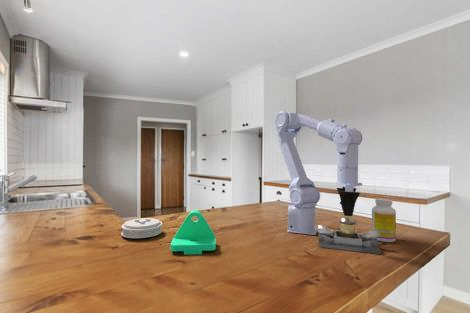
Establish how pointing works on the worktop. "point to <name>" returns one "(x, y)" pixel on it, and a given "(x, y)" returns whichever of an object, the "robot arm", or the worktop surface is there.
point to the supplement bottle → (384, 220)
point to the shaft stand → (349, 241)
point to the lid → (141, 228)
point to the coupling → (347, 227)
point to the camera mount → (194, 235)
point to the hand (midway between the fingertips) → (347, 213)
